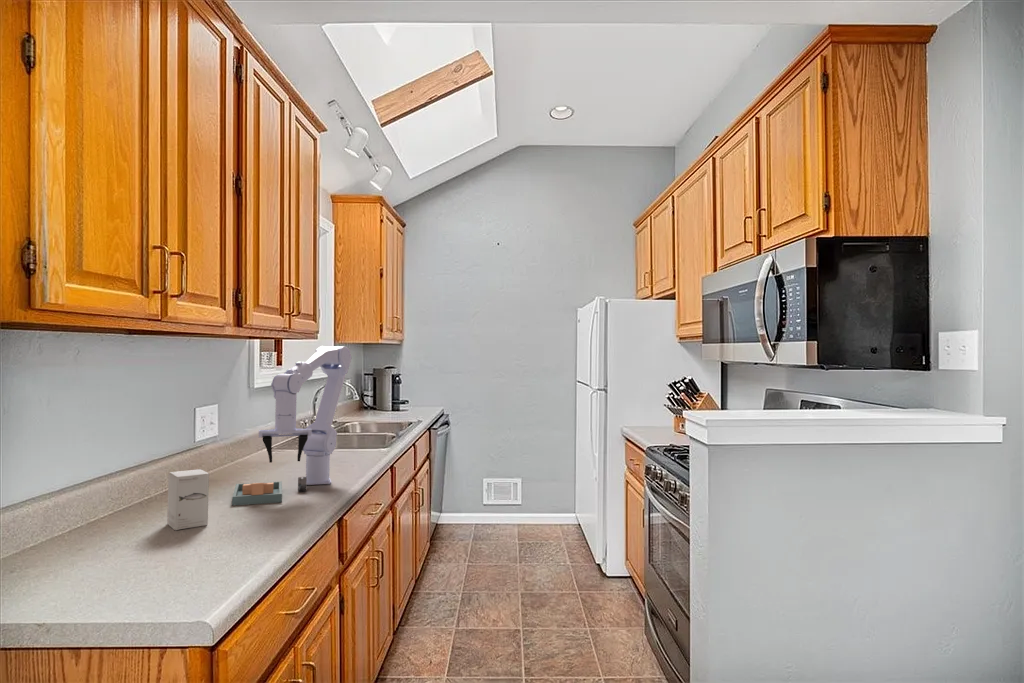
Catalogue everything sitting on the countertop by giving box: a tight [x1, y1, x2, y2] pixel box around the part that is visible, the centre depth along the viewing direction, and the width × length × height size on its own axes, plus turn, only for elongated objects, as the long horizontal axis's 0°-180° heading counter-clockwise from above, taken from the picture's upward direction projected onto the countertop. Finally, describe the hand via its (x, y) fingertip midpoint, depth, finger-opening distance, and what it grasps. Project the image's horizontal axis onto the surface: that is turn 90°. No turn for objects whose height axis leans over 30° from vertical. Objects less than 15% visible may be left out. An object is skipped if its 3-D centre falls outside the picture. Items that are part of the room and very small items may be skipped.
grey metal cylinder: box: [297, 476, 307, 493], centre depth 189 cm, size 2×2×4 cm
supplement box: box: [166, 469, 210, 531], centre depth 153 cm, size 7×7×13 cm
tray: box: [231, 480, 283, 506], centre depth 181 cm, size 17×13×2 cm
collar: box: [242, 481, 275, 495], centre depth 179 cm, size 12×8×3 cm, turn 20°
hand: (284, 461), depth 186 cm, fingers open, 7 cm apart
